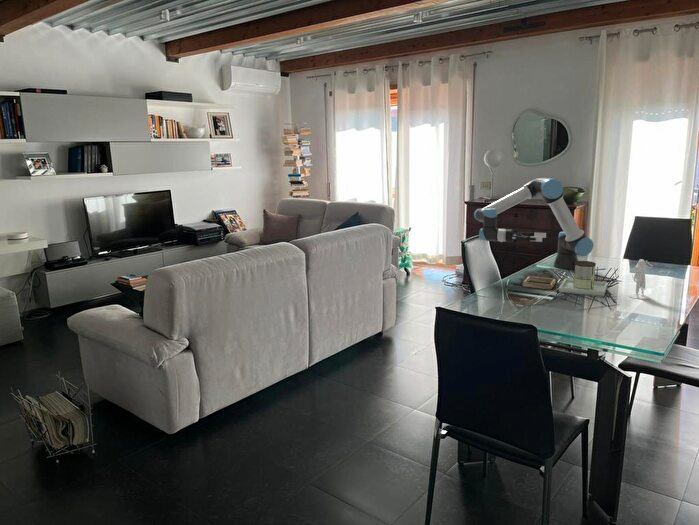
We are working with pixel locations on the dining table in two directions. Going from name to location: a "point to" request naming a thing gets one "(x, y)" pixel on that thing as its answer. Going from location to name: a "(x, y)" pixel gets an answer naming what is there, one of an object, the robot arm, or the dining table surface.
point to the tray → (568, 288)
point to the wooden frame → (539, 285)
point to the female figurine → (640, 279)
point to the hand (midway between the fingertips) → (544, 237)
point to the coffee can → (584, 275)
